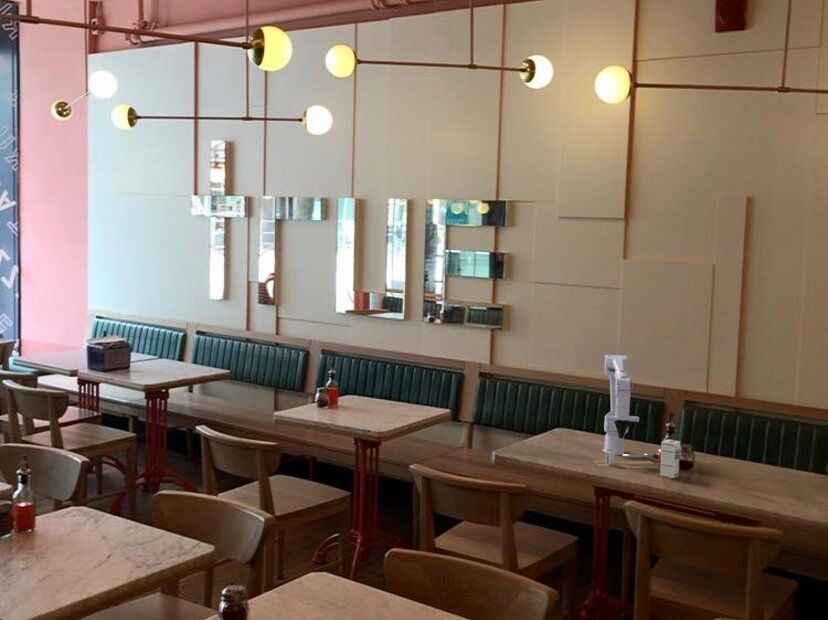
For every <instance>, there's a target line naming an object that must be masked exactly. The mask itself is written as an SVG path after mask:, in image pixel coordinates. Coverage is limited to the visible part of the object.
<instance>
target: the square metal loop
mask: <svg viewBox="0 0 828 620" xmlns="http://www.w3.org/2000/svg"><path fill="white" fill-rule="evenodd" d="M614 460H615V455H614V451H613V450H611V449H606V452H605V459H604V463H605V464H607V465H608V466H616V464H615V463H614Z"/></svg>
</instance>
